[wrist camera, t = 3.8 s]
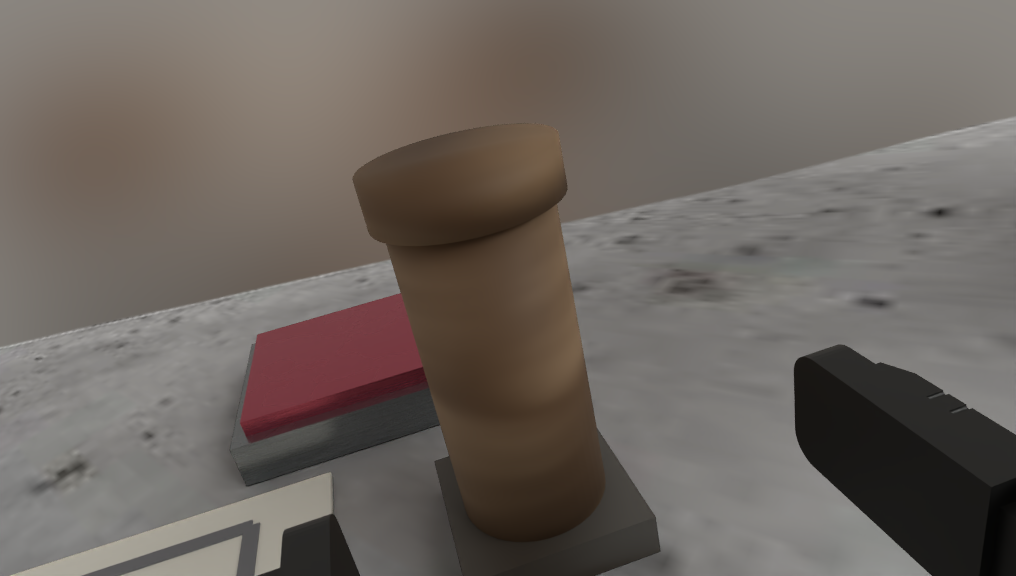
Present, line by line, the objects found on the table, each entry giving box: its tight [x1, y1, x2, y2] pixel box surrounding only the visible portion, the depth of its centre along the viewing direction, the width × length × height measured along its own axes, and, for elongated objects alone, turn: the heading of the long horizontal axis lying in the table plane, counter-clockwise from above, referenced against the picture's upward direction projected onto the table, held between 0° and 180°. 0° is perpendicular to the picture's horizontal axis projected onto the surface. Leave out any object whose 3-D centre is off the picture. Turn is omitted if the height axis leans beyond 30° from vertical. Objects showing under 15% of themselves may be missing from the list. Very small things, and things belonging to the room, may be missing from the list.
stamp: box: [353, 123, 660, 576], centre depth 17 cm, size 5×5×11 cm
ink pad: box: [230, 293, 440, 486], centre depth 27 cm, size 8×8×2 cm
